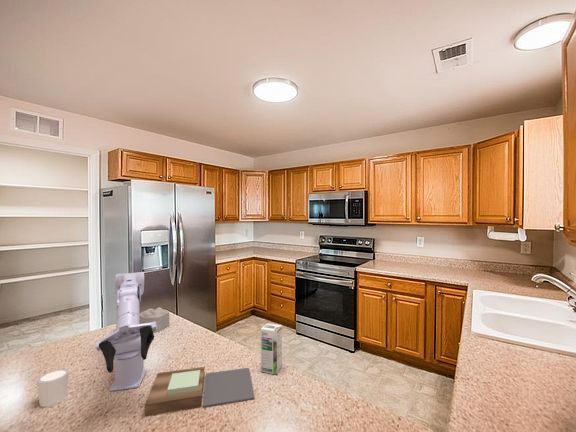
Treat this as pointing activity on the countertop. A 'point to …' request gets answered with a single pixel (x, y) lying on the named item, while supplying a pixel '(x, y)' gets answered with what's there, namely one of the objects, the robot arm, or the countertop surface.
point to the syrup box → (271, 348)
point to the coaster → (184, 382)
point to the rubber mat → (228, 387)
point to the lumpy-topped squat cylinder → (155, 318)
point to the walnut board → (176, 402)
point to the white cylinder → (52, 387)
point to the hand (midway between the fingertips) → (127, 363)
